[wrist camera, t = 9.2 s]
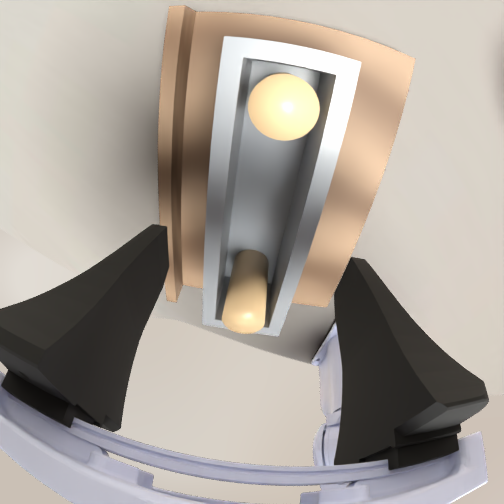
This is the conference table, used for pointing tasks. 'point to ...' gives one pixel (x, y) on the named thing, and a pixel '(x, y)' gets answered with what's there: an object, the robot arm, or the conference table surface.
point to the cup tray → (269, 175)
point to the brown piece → (201, 125)
